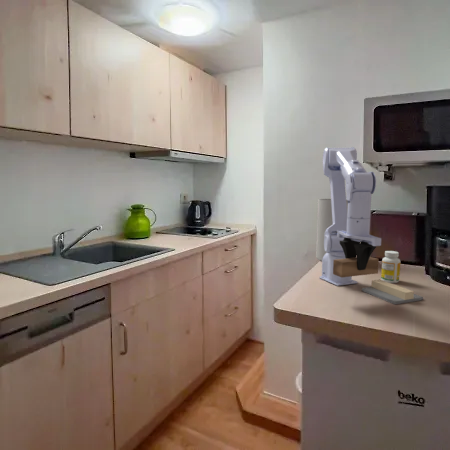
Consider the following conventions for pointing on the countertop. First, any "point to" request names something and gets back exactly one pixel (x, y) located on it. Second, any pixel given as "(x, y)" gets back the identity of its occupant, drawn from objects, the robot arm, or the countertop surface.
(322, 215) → the cylinder vase
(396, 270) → the supplement bottle
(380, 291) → the board
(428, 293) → the countertop surface
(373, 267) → the walnut bar
